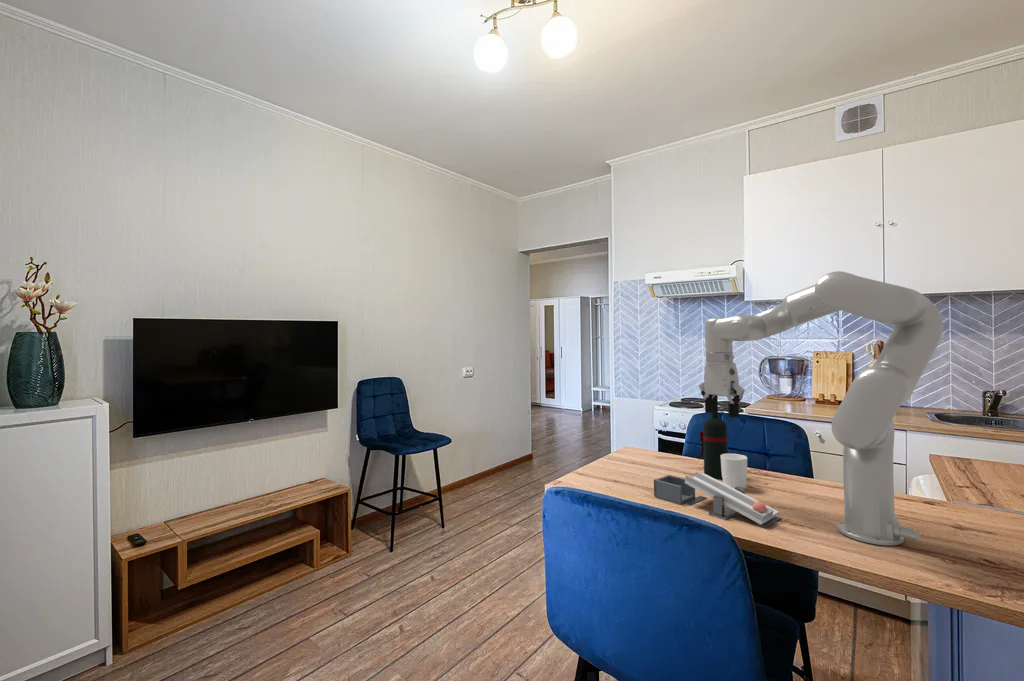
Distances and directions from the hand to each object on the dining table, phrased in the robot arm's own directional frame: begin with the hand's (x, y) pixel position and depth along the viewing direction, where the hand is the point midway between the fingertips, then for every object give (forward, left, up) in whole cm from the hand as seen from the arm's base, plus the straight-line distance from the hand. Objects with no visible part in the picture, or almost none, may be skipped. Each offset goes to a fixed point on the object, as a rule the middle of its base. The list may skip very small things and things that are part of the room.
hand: (721, 414), depth 135 cm
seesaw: (-6, +9, -21) cm, 24 cm away
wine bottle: (+14, -19, -26) cm, 35 cm away
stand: (-6, +9, -25) cm, 27 cm away
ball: (-15, +11, -22) cm, 28 cm away
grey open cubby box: (+10, +11, -25) cm, 29 cm away
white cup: (+3, -12, -26) cm, 29 cm away
